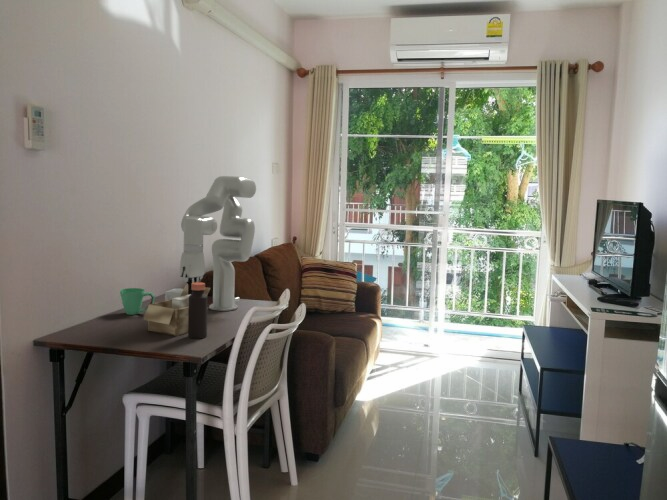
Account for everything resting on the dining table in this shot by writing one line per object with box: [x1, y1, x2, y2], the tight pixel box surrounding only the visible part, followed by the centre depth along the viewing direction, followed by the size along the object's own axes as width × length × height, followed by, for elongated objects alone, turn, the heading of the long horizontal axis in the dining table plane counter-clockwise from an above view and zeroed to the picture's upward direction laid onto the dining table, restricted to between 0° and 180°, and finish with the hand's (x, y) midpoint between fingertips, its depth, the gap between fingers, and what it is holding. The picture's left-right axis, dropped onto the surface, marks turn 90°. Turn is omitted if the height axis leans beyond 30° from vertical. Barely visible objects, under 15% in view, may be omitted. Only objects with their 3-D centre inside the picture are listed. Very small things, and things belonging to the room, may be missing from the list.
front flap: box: [143, 303, 175, 325], centre depth 206 cm, size 6×12×1 cm
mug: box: [119, 287, 156, 316], centre depth 236 cm, size 15×10×10 cm
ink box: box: [164, 287, 184, 301], centre depth 232 cm, size 8×8×12 cm
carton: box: [147, 294, 191, 337], centre depth 214 cm, size 16×15×13 cm
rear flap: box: [180, 283, 211, 297], centre depth 223 cm, size 6×12×1 cm
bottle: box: [187, 282, 208, 340], centre depth 205 cm, size 7×7×20 cm
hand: (192, 294), depth 221 cm, fingers closed
